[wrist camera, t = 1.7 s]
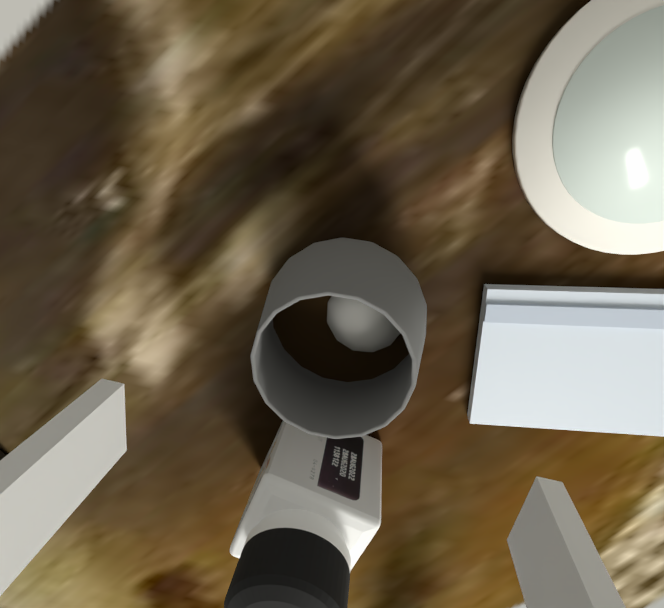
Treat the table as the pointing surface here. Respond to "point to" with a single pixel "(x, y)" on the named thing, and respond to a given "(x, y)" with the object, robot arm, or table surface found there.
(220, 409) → the table surface
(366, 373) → the cup
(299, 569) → the container
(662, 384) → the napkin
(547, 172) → the saucer
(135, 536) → the table surface
